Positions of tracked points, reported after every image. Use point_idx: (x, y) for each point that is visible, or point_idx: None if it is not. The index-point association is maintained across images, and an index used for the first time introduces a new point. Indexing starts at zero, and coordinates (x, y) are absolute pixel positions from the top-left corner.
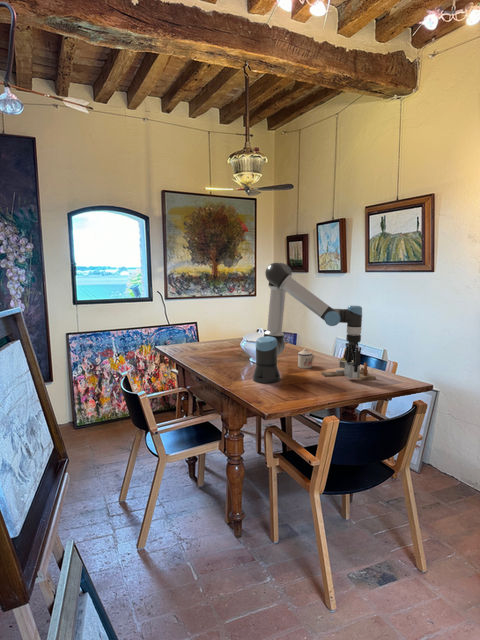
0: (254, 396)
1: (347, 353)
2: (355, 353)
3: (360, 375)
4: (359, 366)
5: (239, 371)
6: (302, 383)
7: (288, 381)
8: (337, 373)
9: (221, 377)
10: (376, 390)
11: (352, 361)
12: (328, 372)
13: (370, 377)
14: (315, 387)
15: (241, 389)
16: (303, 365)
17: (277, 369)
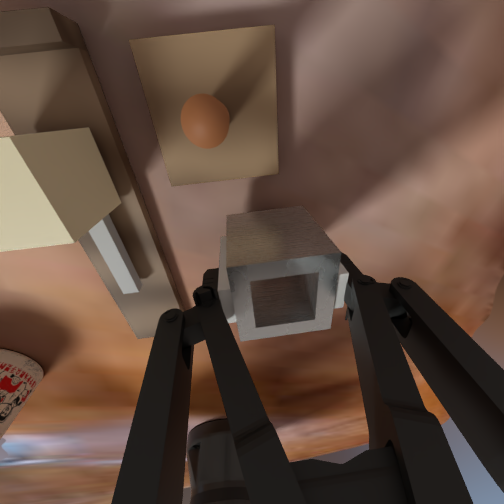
0: (349, 438)
1: (184, 409)
2: (479, 446)
3: (220, 163)
4: (334, 248)
5: None
6: (277, 384)
7: None
8: (150, 280)
9: None
10: (488, 165)
11: (35, 221)
12: (133, 313)
13: (275, 92)
14: (330, 363)
15: (297, 451)
16: (34, 388)
17: (238, 464)
